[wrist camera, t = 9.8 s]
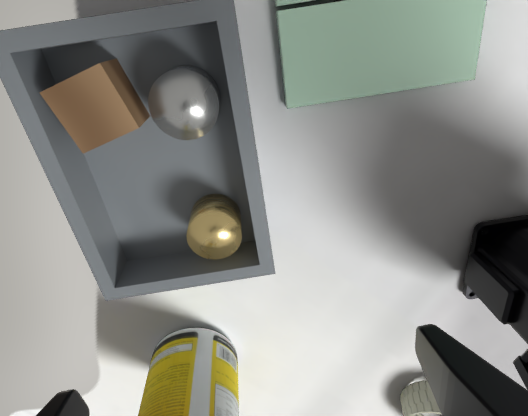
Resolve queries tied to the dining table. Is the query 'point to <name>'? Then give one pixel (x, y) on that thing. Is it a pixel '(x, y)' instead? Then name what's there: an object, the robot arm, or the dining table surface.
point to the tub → (145, 145)
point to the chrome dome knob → (184, 102)
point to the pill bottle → (192, 376)
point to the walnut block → (97, 105)
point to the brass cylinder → (214, 227)
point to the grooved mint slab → (376, 47)
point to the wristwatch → (418, 400)
